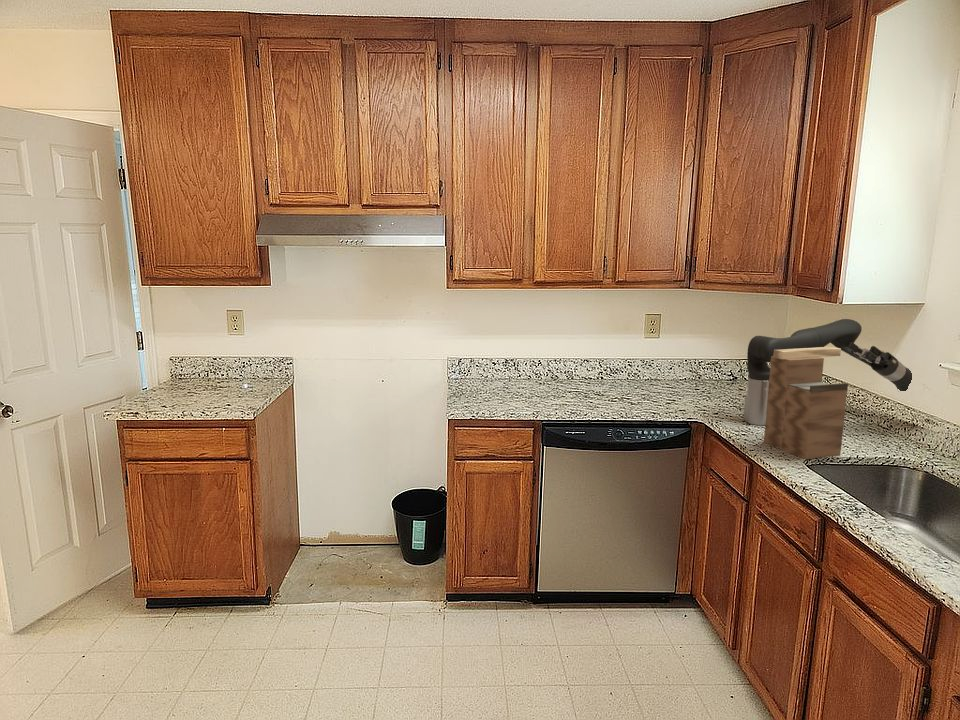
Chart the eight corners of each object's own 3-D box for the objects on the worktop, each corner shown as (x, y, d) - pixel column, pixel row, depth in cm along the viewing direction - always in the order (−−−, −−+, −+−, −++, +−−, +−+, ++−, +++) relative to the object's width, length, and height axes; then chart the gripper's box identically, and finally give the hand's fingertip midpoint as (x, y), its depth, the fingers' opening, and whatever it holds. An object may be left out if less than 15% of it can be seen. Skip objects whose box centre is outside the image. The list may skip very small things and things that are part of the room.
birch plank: (773, 357, 204) (773, 349, 204) (830, 354, 211) (831, 346, 211) (782, 359, 201) (783, 351, 200) (840, 355, 208) (840, 348, 207)
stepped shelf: (763, 442, 212) (771, 356, 206) (796, 439, 216) (804, 354, 211) (805, 459, 195) (814, 365, 190) (840, 455, 199) (850, 363, 194)
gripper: (875, 354, 229) (848, 334, 223) (912, 361, 216) (884, 339, 210) (865, 372, 229) (838, 352, 223) (901, 380, 216) (873, 359, 210)
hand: (860, 346), depth 217 cm, fingers open, 8 cm apart
